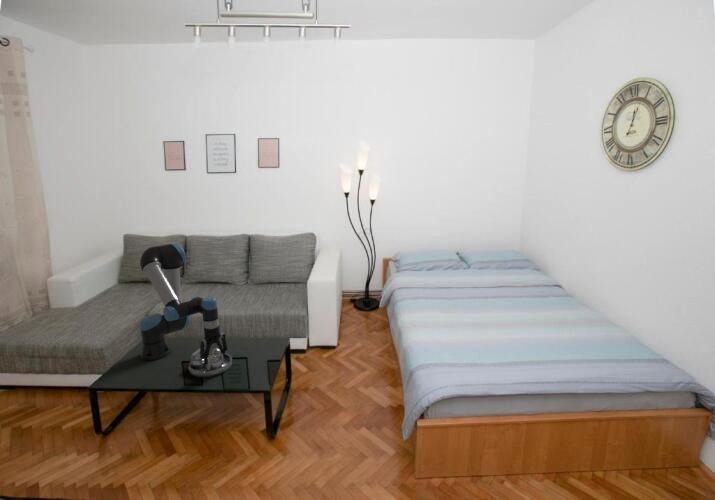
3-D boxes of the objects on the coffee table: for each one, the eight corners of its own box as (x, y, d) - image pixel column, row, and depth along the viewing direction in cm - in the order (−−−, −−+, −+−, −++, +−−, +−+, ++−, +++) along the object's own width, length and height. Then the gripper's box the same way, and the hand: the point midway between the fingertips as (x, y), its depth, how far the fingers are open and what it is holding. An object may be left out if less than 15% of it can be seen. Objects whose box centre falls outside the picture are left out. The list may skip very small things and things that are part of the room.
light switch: (191, 368, 215) (190, 355, 213) (204, 358, 226) (202, 345, 225) (194, 369, 215) (192, 355, 213) (206, 358, 226) (205, 346, 224)
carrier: (183, 367, 217) (181, 353, 216) (220, 353, 232) (219, 341, 231) (200, 382, 202) (198, 367, 200) (239, 366, 217) (238, 353, 215)
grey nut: (212, 371, 208) (211, 361, 207) (206, 367, 213) (205, 356, 211) (224, 366, 213) (223, 356, 211) (218, 362, 217) (217, 352, 216)
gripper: (195, 334, 198) (200, 375, 203) (232, 323, 212) (235, 362, 217) (189, 330, 204) (194, 370, 208) (225, 319, 217) (229, 357, 222)
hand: (215, 366), depth 213 cm, fingers open, 7 cm apart
